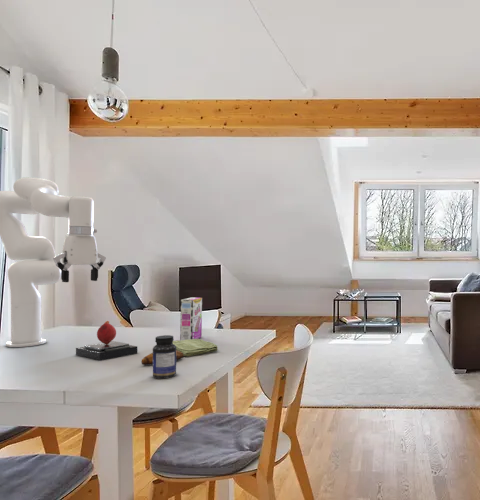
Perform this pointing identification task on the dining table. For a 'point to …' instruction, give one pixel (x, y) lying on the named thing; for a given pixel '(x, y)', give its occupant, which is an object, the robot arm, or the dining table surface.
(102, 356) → the scale
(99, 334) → the onion
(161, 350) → the pill bottle
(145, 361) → the croissant
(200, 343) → the washcloth
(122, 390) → the dining table surface
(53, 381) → the dining table surface
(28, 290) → the robot arm
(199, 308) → the candy bar box
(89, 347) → the scale pan
